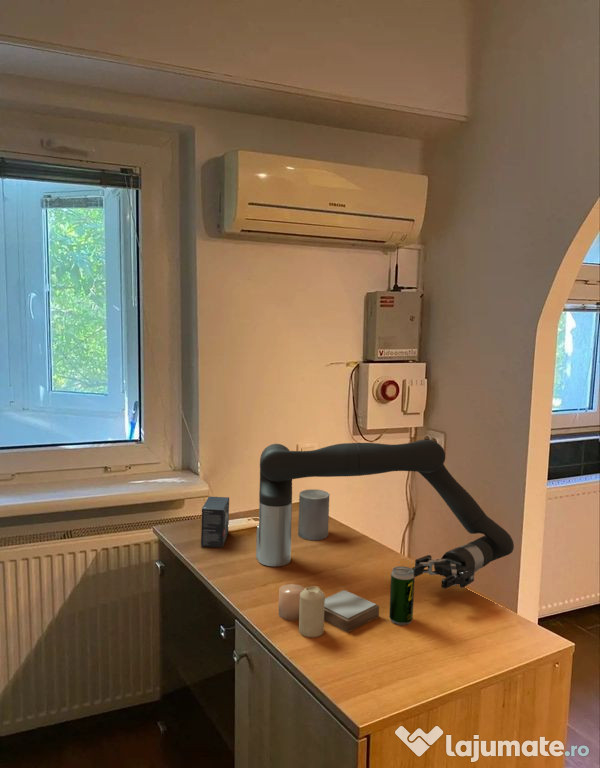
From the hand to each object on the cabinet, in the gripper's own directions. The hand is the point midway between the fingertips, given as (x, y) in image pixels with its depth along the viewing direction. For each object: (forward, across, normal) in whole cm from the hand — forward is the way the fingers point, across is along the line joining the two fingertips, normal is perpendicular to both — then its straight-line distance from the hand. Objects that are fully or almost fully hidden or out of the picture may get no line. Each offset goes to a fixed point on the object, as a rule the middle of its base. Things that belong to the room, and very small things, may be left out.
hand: (427, 578), depth 149 cm
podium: (+18, -10, +7) cm, 22 cm away
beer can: (+10, 0, +7) cm, 13 cm away
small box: (+12, -69, +7) cm, 70 cm away
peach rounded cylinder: (+28, -19, +7) cm, 34 cm away
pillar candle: (-14, -52, +7) cm, 54 cm away
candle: (+30, -10, +7) cm, 32 cm away
